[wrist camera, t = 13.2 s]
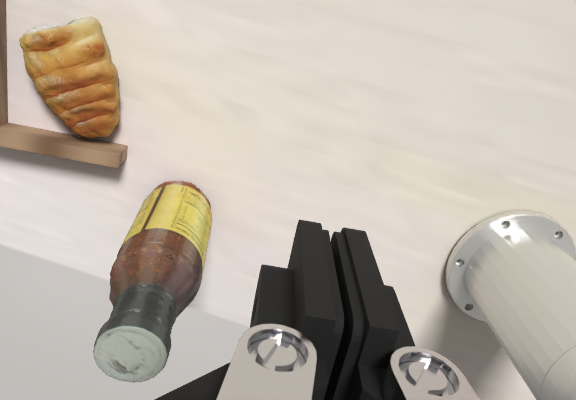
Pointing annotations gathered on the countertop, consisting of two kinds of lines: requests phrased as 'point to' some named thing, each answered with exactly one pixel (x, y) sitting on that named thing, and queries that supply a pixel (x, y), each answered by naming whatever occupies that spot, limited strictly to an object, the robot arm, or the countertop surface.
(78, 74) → the pastry
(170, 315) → the sauce bottle
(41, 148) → the open wooden frame
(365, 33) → the countertop surface
